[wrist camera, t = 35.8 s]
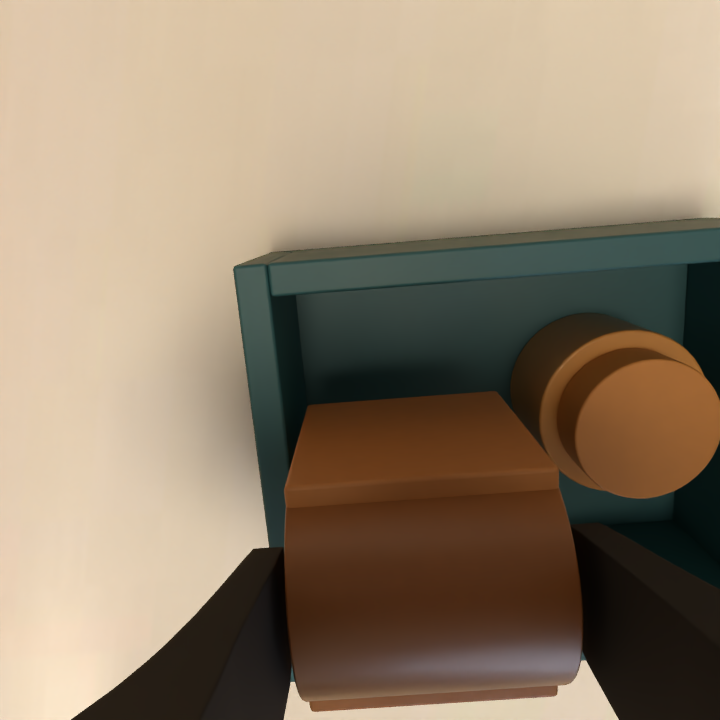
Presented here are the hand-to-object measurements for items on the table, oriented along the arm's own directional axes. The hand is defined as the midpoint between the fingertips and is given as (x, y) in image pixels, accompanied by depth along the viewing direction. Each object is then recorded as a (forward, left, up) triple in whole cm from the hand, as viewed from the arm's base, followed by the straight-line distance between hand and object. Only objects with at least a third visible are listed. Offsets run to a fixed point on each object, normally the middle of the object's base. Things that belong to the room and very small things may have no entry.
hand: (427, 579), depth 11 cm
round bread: (-6, -1, -9) cm, 11 cm away
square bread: (0, 0, -4) cm, 4 cm away
